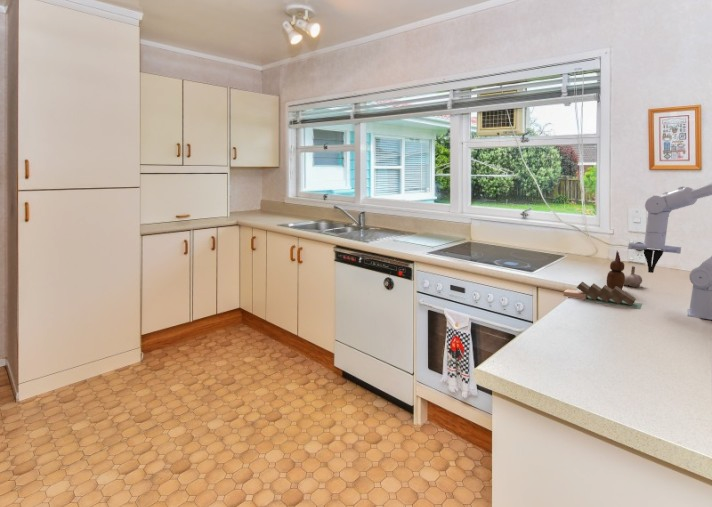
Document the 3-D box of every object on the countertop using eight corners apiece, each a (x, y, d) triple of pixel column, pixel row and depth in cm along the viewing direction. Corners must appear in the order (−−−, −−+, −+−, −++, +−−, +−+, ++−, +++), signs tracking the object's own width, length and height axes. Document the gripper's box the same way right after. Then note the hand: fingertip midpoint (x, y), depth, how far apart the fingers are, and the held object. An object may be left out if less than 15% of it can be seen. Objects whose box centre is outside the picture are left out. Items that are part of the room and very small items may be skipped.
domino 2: (612, 295, 148) (593, 283, 151) (610, 298, 145) (591, 285, 148) (608, 299, 149) (590, 287, 152) (606, 302, 145) (587, 289, 148)
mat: (642, 304, 145) (642, 303, 145) (640, 310, 138) (640, 309, 138) (587, 296, 155) (587, 295, 154) (582, 301, 148) (582, 300, 148)
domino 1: (600, 294, 150) (582, 281, 153) (598, 296, 147) (579, 283, 150) (597, 297, 151) (579, 285, 154) (594, 300, 148) (576, 287, 151)
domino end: (587, 291, 153) (566, 289, 157) (585, 294, 149) (563, 291, 153) (587, 296, 153) (566, 294, 157) (585, 299, 149) (563, 296, 154)
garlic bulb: (641, 289, 166) (644, 268, 165) (619, 286, 170) (622, 266, 168) (640, 285, 172) (643, 265, 171) (619, 282, 176) (621, 263, 175)
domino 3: (624, 297, 146) (605, 284, 149) (622, 300, 143) (603, 287, 146) (620, 301, 147) (601, 288, 150) (619, 304, 143) (599, 291, 146)
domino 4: (635, 298, 144) (616, 285, 147) (634, 301, 141) (614, 288, 144) (632, 302, 145) (612, 289, 148) (630, 305, 141) (610, 292, 144)
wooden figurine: (606, 287, 168) (610, 249, 165) (624, 289, 164) (628, 250, 162) (604, 291, 162) (608, 251, 160) (622, 293, 159) (627, 253, 156)
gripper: (683, 232, 143) (677, 273, 145) (631, 229, 151) (627, 267, 154) (682, 235, 137) (677, 276, 139) (629, 231, 146) (624, 270, 148)
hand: (650, 272), depth 146 cm, fingers closed
